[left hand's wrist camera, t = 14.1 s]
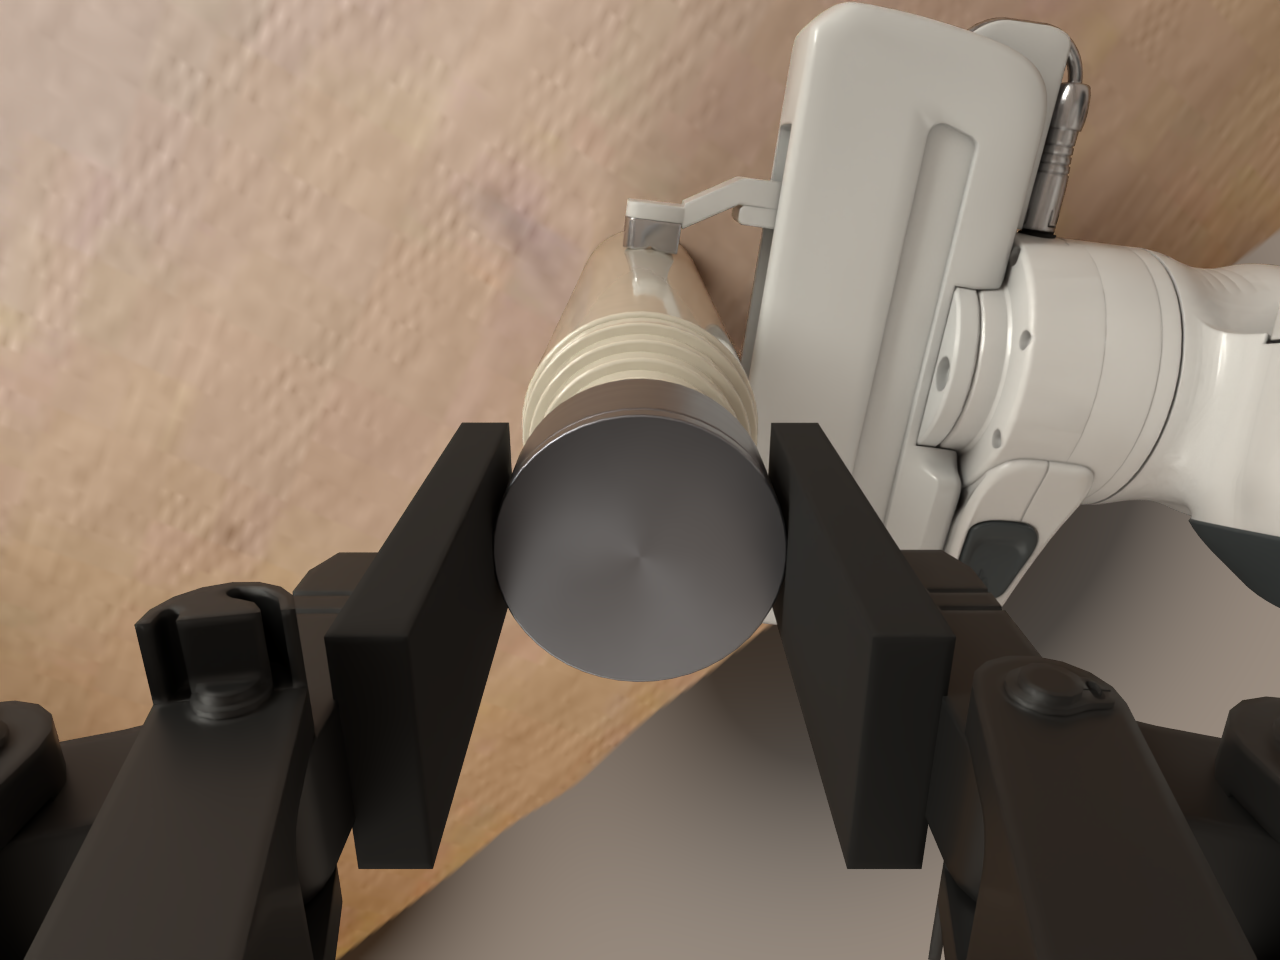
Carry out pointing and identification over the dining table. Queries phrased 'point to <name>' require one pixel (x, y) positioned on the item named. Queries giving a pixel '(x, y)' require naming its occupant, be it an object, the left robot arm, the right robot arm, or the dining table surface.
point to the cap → (639, 532)
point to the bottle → (639, 335)
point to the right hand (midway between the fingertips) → (613, 319)
